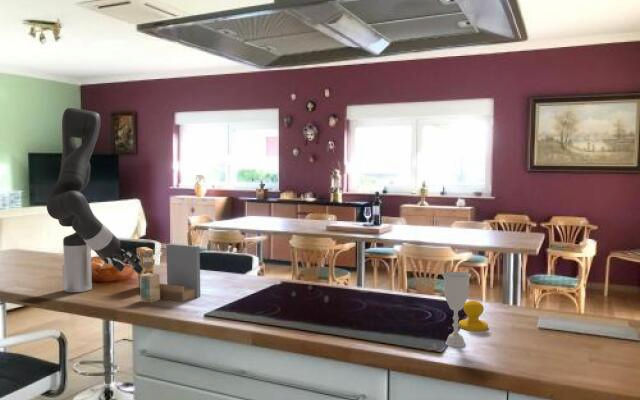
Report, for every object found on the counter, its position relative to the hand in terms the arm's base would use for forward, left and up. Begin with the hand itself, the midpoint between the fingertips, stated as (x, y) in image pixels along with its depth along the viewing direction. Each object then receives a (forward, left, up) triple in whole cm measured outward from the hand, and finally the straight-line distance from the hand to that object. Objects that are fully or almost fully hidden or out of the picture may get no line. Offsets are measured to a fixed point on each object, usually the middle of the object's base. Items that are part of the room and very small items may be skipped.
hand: (131, 270), depth 174 cm
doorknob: (+105, +27, -12) cm, 109 cm away
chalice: (+104, +10, -12) cm, 105 cm away
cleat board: (+5, +15, -12) cm, 20 cm away
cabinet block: (0, +8, -12) cm, 14 cm away
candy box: (-15, +20, -12) cm, 28 cm away
